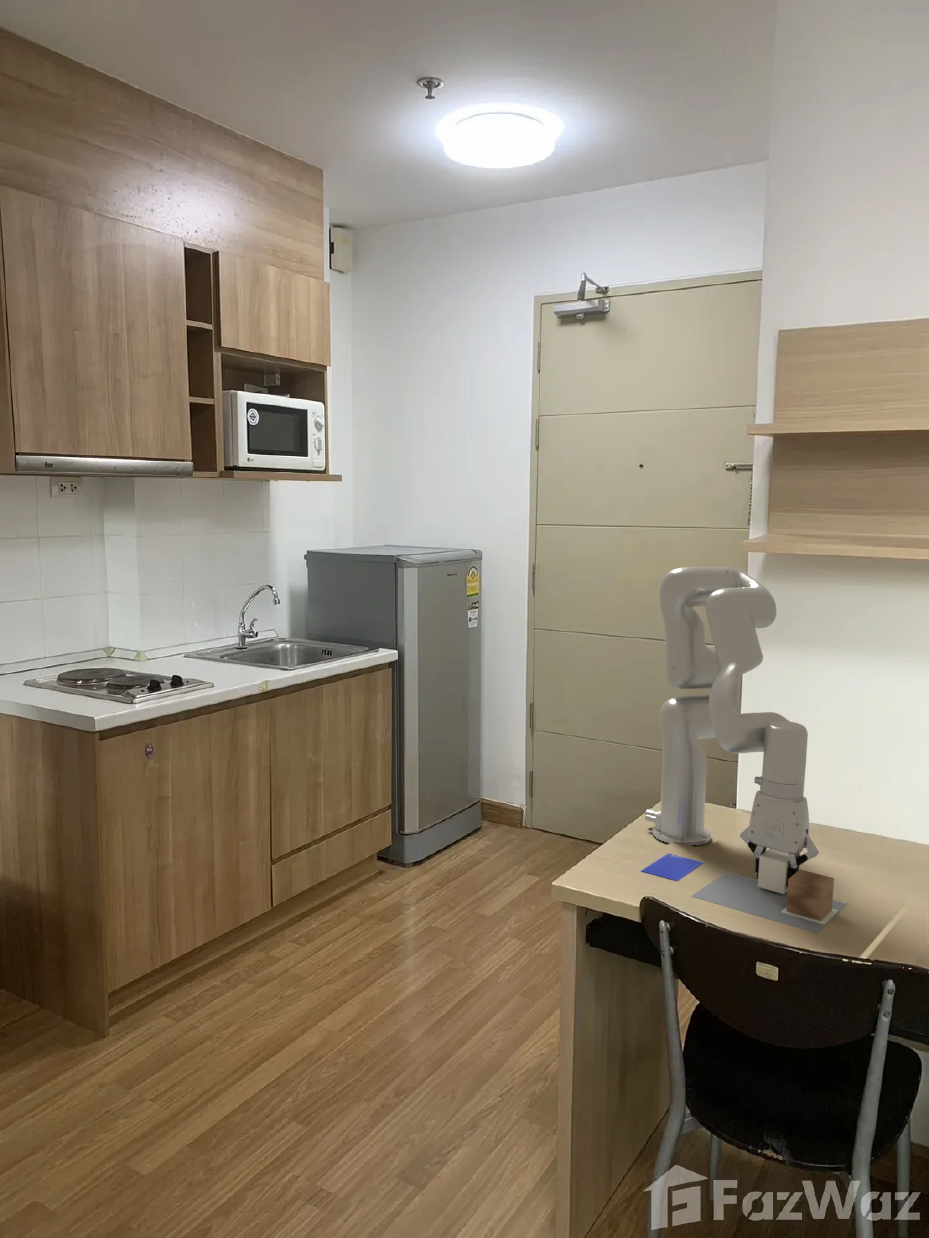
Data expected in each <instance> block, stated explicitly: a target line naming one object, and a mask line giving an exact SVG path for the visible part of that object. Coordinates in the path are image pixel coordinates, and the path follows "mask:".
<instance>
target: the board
mask: <svg viewBox="0 0 929 1238" xmlns="http://www.w3.org/2000/svg"><path fill="white" fill-rule="evenodd" d="M787 894H788V891H787V892H786V893H785V894H782V893H778V892H775V891H771V890H768V889H764V888H761V887H758V879H757V878H752V877H748V876H746V875H745V876H744V875H742V874H738V873H734V872H731V871H726V872H724V873H722V874H721V875H720V876H718V877H717V878H715V879H714V880H713V881H711V882H709V884H707V885H706V886H704V887H702V888H701V889H699V890H697V892H695V893H694V894H692V895H691V898H695V899H699V900H702V901H706V902H708V903H713V904H716V905H719V906H723V907H726V908H730V909H733V910H736V911H740V912H743V913H746V914H750V915H753V916H757V917H760V918H763V919H767V920H771V921H773V922H777V923H780V924H784V925H788V926H790V927H792V928H793V927H794V928H797V929H800V930H804V931H807V932H811V933H814V934H818V933H819V932H820V931H821V930H822V929H824V927H825V926H827V924H829V922H831V921H832V920H833V919H834V917H835V916H837V915H838V913H840V912H841V911H842V910H843V909H844V908H845V906H847V905H848V903H845V902H842V901H838V900H834V899H833V903H832V911H831V912H830V913H829V914H828V915H827V916H826V917H825V918H823V919H822V920H821V921H818V920H815V919H811V918H808V917H804V916H801V915H797V914H794V913H790V912H787Z"/></svg>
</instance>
